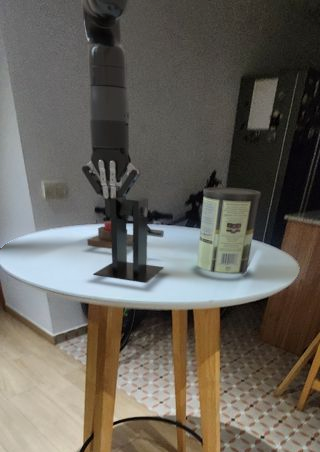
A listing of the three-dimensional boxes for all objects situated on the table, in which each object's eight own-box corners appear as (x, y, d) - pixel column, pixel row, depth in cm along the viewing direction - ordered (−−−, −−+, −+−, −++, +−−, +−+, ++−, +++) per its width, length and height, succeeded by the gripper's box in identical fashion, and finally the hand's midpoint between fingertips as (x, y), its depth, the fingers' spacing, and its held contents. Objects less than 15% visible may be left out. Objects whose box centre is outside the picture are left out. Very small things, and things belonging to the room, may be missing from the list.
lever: (134, 237, 73) (136, 225, 73) (162, 241, 72) (164, 228, 72) (108, 213, 61) (111, 197, 61) (142, 216, 60) (144, 201, 59)
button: (102, 231, 82) (101, 222, 81) (108, 228, 85) (108, 220, 84) (116, 233, 81) (116, 224, 80) (123, 230, 84) (122, 221, 83)
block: (87, 250, 82) (86, 230, 80) (106, 241, 90) (106, 223, 88) (120, 254, 81) (120, 234, 78) (136, 245, 88) (136, 227, 86)
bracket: (116, 266, 73) (114, 192, 65) (163, 273, 71) (167, 197, 63) (93, 280, 65) (88, 198, 58) (145, 288, 63) (147, 204, 55)
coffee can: (225, 261, 80) (236, 186, 71) (257, 275, 72) (273, 193, 64) (185, 266, 75) (192, 187, 67) (215, 281, 68) (227, 194, 60)
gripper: (69, 116, 70) (78, 217, 80) (133, 118, 67) (133, 223, 77) (87, 118, 76) (93, 212, 86) (147, 121, 73) (146, 218, 83)
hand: (112, 217), depth 82 cm, fingers closed
